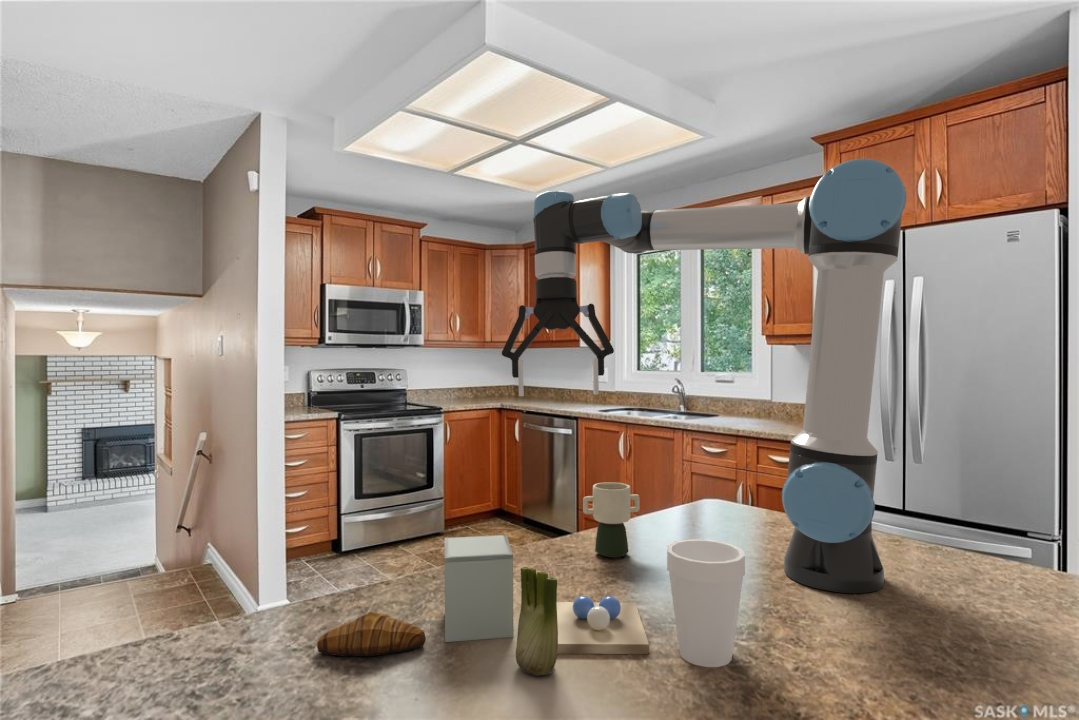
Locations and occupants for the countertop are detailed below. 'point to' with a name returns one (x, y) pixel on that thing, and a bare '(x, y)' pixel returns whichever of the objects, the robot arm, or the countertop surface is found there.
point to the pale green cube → (478, 588)
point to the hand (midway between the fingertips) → (558, 395)
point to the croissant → (371, 637)
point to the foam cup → (706, 598)
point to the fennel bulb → (537, 623)
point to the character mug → (611, 516)
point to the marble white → (598, 618)
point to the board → (601, 632)
